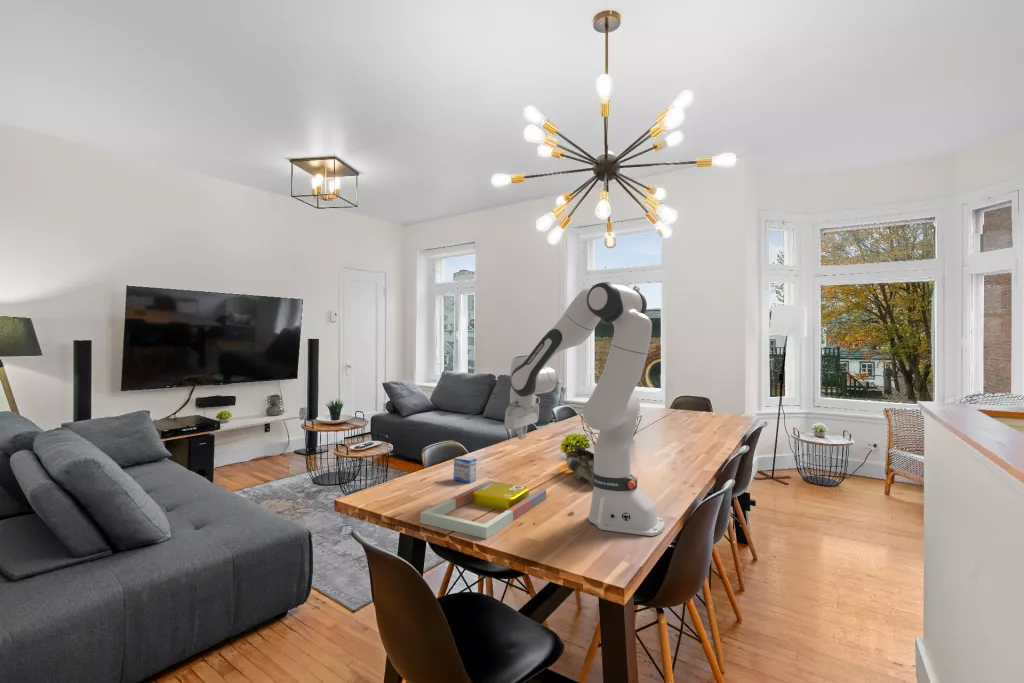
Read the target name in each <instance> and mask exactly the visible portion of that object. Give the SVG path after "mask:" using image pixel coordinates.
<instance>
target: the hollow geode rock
mask: <svg viewBox="0 0 1024 683" xmlns="http://www.w3.org/2000/svg"><path fill="white" fill-rule="evenodd" d="M569 446H571V448H572V449H574V450H575V451H568V454H567V455H566V465H567V467H568V469H569V470H570V471H572V472H574V477H575V478H576V479H578V480H579V479H585V480H587V481H588V482H589V483H590V484H591V485H592V472H593V471H594V452H591V451H589V450H587V449H585V448H583V447H580V446H578V445H576V444H574V443H573V444H571V443H569Z"/></svg>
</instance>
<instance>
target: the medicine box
mask: <svg viewBox="0 0 1024 683" xmlns="http://www.w3.org/2000/svg"><path fill="white" fill-rule="evenodd" d="M453 481H454V482H462V483H467V484H468V483H469V484H471V483H474V482H476V481H477V458H473V457H465V456H457V457H454V458H453Z"/></svg>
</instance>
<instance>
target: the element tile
mask: <svg viewBox="0 0 1024 683" xmlns="http://www.w3.org/2000/svg"><path fill="white" fill-rule="evenodd" d="M529 494H530V488H529V486H528V487H527V486H524V485H518V484H512V483H505V482H498V481H494V482H492V483H489V484H487V485H486V486H484V487H482V488H480V489H478V490H476V491H474V493H473V500H472V501H473V502H472V504H473V505H474V506H478V507H482V508H487V509H493V510H499V511H503V512H505V511H506V510H508V509H510V508H511V507H513V506H514V505H516V504H518V503H519V502H521V501H523V500H524V499H526V498H528V497H529V496H530V495H529Z"/></svg>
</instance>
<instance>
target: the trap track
mask: <svg viewBox="0 0 1024 683" xmlns="http://www.w3.org/2000/svg"><path fill="white" fill-rule="evenodd" d="M492 482H495V481H494V480H489V479H488V480H487V481H484V482H483V483H481V484H478V485H477V486H474V487H472V488H470V489H468V490H466V491H463V492H462V493H459V494H458V495H455V496H453V497H451V498H449V499H447V500H444V501H442V502H440V503H438V504H436V505H434V506H432V507H429V508H427V509H425V510H423V511H421V512H420V524H423V525H424V524H425V525H428V526H432V527H435V528H441V529H445V530H448V531H451V532H452V531H453V532H457V533H461V534H464V535H465V534H466V535H470V536H474V537H477V538H483V539H489V538H490V537H491V536H493V535H495V533H497V532H500V530H502V529H504V528H505V527H506V526H508V525H509V524H511V523H512V522H514V521H515V520H517V519H518V518H520V517H521V516H523V515H524V514H526V513H527V512H529V511H530V510H532V509H533V508H535V507H536V506H538V505H539V504H540V503H542V502H544V501H545V500H547V489H543V488H540V489H539V490H537V491H536V492H534V493H533V494H531V495H529V497H528V498H526V499H524V500H523V501H521V502H519V503H518V504H516V505H514V506H513V507H511V508H510V509H508V510H506V511H503V512H501V513H500V514H498V515H497V516H495V517H493V518H492V519H490V520H489V521H486V522H485V523H481V522H479V521H478V522H477V521H472V520H469V519H463V518H459V517H454V516H451V515H450V516H449V515H447V514H449V513H450V512H452V511H455V510H456V509H458V508H460V507H463V506H465V505H466V504H468V503H469V502H470V503H471V502H472V501H473V493H474V491H476V490H478V489H480V488H482V487H484V486H486V485H487V484H489V483H492Z"/></svg>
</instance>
